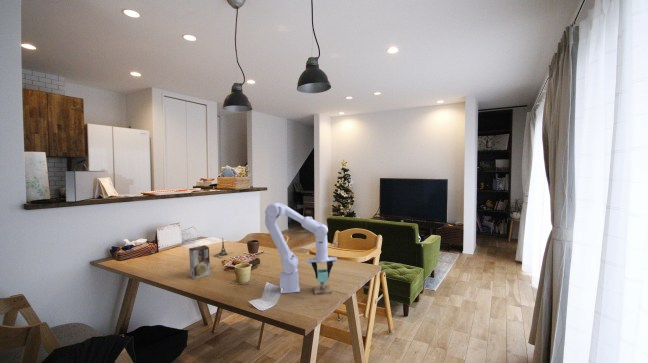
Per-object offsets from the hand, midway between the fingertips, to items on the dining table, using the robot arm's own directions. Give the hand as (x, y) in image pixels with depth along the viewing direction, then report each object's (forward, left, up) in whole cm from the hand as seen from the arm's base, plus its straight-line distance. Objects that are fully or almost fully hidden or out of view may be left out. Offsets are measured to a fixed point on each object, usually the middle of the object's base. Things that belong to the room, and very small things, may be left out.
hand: (322, 277), depth 140 cm
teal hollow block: (0, 0, -1) cm, 1 cm away
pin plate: (0, 0, -7) cm, 7 cm away
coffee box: (-66, +32, -7) cm, 74 cm away
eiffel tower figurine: (-62, +71, -8) cm, 95 cm away
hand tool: (-40, +39, -7) cm, 56 cm away
